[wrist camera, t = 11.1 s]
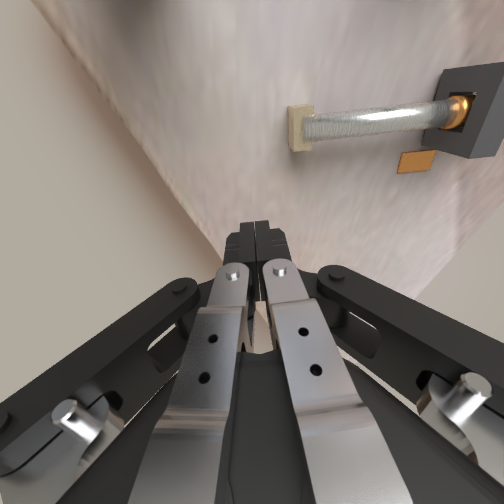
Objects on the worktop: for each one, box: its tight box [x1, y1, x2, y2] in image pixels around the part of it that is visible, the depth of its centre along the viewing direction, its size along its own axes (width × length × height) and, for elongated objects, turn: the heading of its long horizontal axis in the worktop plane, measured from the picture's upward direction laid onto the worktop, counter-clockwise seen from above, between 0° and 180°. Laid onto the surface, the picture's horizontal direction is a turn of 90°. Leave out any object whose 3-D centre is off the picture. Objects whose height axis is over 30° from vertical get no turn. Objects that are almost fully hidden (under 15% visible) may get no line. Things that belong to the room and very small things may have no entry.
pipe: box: [288, 94, 476, 173], centre depth 32 cm, size 28×11×7 cm, turn 96°
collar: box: [421, 62, 504, 159], centre depth 28 cm, size 3×9×9 cm, turn 6°
